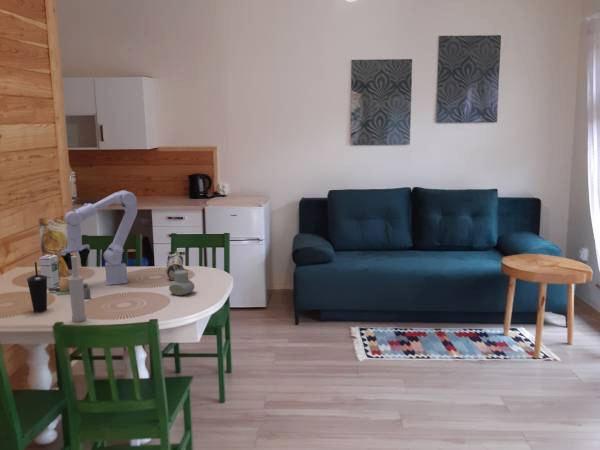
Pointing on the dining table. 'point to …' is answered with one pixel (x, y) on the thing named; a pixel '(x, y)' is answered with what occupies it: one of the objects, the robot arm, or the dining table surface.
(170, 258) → the pencil case
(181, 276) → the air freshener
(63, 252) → the robot arm
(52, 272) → the syrup box
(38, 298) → the drinking cup
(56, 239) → the pancake mix bag
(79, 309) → the bottle
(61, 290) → the plug
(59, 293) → the mat
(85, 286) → the channel
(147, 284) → the dining table surface
